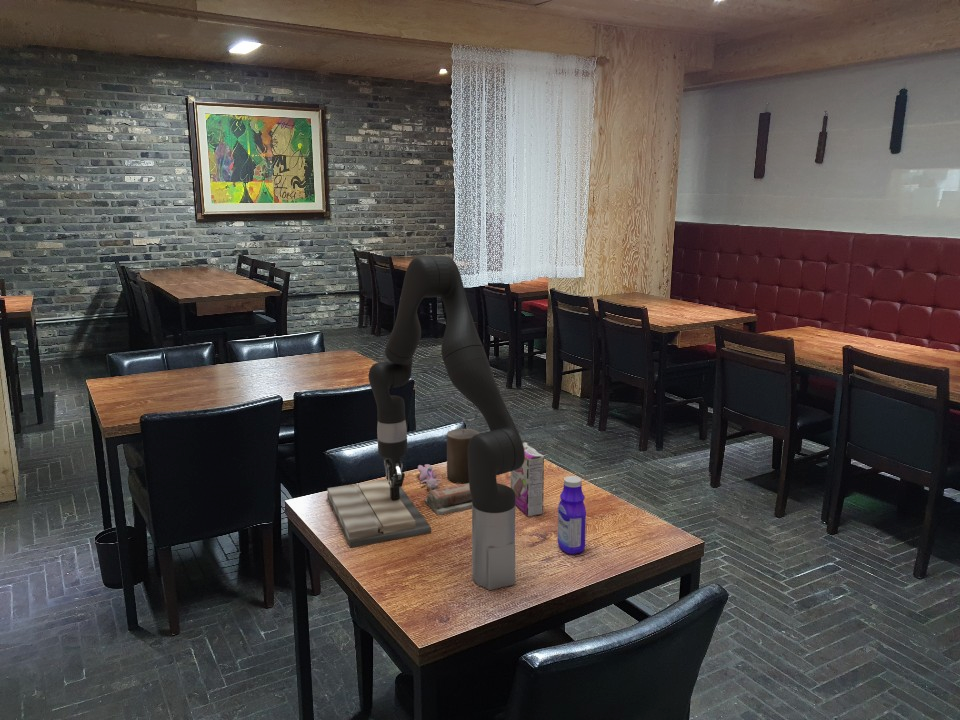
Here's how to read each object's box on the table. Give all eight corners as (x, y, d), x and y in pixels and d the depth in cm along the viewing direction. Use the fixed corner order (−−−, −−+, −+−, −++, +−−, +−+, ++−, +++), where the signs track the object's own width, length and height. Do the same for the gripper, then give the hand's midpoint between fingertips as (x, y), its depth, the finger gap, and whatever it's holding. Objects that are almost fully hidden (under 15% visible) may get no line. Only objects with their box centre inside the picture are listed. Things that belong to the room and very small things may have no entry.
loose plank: (415, 528, 171) (415, 520, 170) (380, 534, 167) (380, 526, 167) (386, 485, 196) (385, 479, 196) (355, 490, 193) (354, 484, 192)
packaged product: (437, 500, 180) (423, 486, 188) (438, 517, 181) (423, 503, 189) (499, 487, 188) (482, 474, 196) (499, 504, 189) (482, 491, 197)
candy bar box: (509, 500, 190) (509, 444, 186) (525, 498, 191) (526, 441, 188) (526, 517, 180) (527, 458, 176) (544, 514, 181) (545, 455, 178)
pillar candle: (475, 485, 200) (475, 435, 197) (442, 481, 202) (442, 432, 199) (482, 472, 209) (483, 425, 206) (451, 470, 212) (451, 422, 208)
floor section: (431, 532, 172) (430, 519, 171) (350, 547, 164) (349, 534, 163) (397, 487, 199) (397, 476, 198) (327, 498, 191) (326, 486, 190)
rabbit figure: (445, 495, 197) (432, 468, 210) (446, 477, 194) (433, 451, 207) (423, 498, 195) (412, 471, 208) (424, 480, 192) (412, 453, 206)
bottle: (553, 543, 166) (554, 475, 162) (574, 539, 168) (576, 471, 164) (567, 557, 160) (569, 486, 156) (589, 553, 161) (591, 483, 158)
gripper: (413, 442, 174) (416, 506, 178) (399, 427, 186) (401, 487, 190) (384, 446, 171) (387, 511, 175) (371, 430, 183) (374, 492, 187)
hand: (394, 499), depth 183 cm, fingers closed
